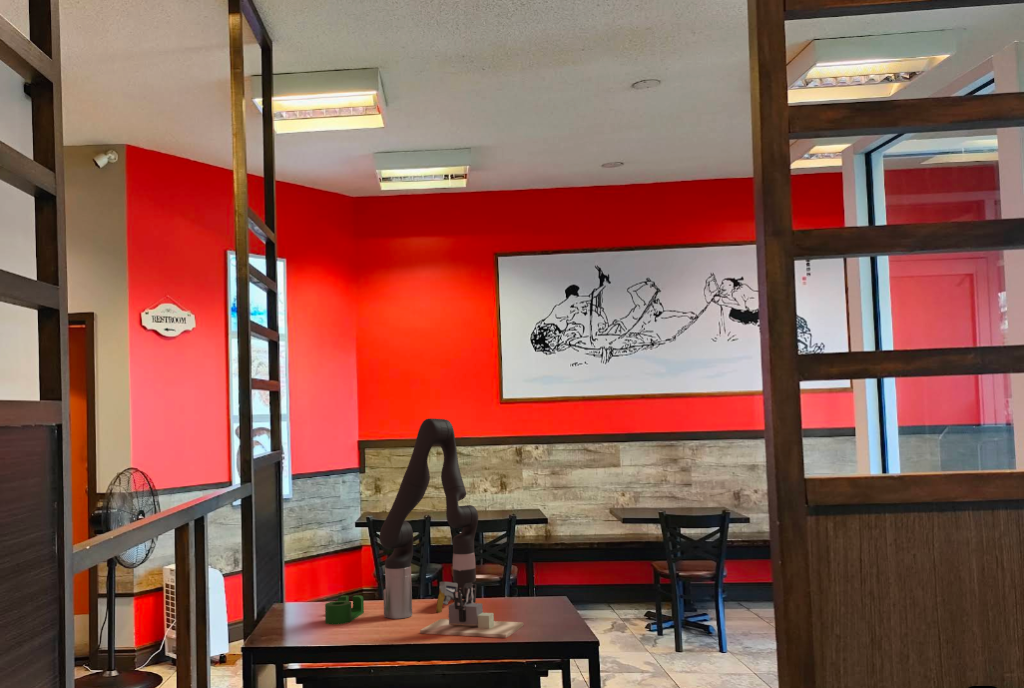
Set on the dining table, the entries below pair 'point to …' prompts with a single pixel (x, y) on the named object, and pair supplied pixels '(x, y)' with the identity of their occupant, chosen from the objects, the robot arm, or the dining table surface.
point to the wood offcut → (486, 620)
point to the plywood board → (472, 629)
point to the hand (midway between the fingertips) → (466, 619)
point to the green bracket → (343, 610)
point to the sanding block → (471, 614)
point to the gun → (445, 594)
